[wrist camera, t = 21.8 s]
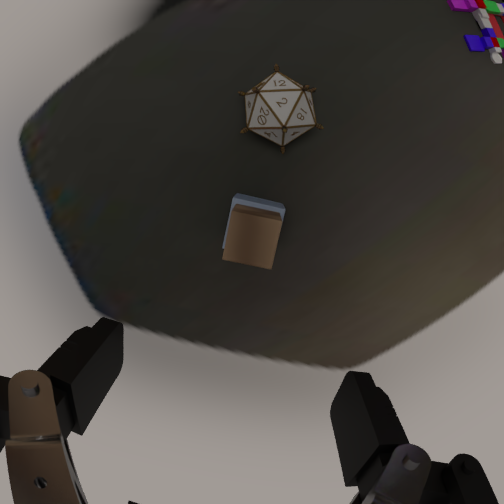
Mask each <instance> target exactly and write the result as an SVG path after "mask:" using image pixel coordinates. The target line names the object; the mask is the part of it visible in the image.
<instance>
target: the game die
mask: <svg viewBox="0 0 504 504" xmlns="http://www.w3.org/2000/svg"><path fill="white" fill-rule="evenodd" d="M274 70H275V72H274V73H273V74H271V75H270V76H269V77H267V78H266V79H264V80H263V81H262V82H260V83H259V84H258V85H256V86H255V87H253V88H252V89H251V90H249V91H248V92H247V93H244V92H243V91H240V92H238V93H239V94H240V95H241V96H245V108H246V124H247V127H246V128H243V129H242V130H241V132H240V133H245V132H247V131H248V130H250V131H252V132H254V133H256V134H258V135H260V136H262V137H264V138H266V139H268V140H270V141H272V142H274V143H276V144H278V145H280V146H281V148H280V149H281V152H282V154H284V152H285V148H284V146H285V145H286V144H288V143H289V142H291V141H293V140H294V139H296V138H297V137H299V136H300V135H302V134H303V133H305V132H307V131H308V130H310V129H311V128H313V127H315V126H316V127H317V128H319V129H324V128H323V126H322V124H321V125H320V124H317V123H316V117H315V111H314V106H313V100H312V94H311V93H312V92H315V90H316V88H314V87H313V88H311V89H310V90H309V85H304V86H302V85H300V84H299V83H297V82H296V81H294V80H292V79H290V78H289V77H287V76H285V75H284V74H282V73H280V72H279V66H278V65H277V64H276V65H275V66H274Z"/></svg>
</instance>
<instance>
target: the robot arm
mask: <svg viewBox="0 0 504 504" xmlns="http://www.w3.org/2000/svg"><path fill="white" fill-rule="evenodd" d="M122 364H123V324H122V323H120V322H117V321H114V320H111V319H107V318H104V317H102V318H100V320H99V321H98V322H97V323H96V324H95V325H94V326H93V327H92V328H91V327H88V326H86V327H83V328H81V329H79V330H77V331H75V332H74V333H73V334H72V335H71V336H70V337H69V338H68V339H67V341H65V342H64V343H63V344H62V345H61V347H60V348H58V349H57V350H56V351H55V352H54V353H53V354H52V355H51V357H49V358H48V360H47V361H46V362H45V363H44V364H43V365H42V366H41V367H40V368H39V369H38V370H37V371H36V370H24V371H21V372H18V373H16V374H15V375H14V376H13V377H12V378H8V377H4V376H0V452H1V451H2V449H3V447H4V446H5V449H6V458H7V465H8V473H9V479H10V484H11V490H12V496H13V501H14V504H88V502H87V500H86V497H85V495H84V492H83V490H82V488H81V485H80V482H79V479H78V476H77V472H76V469H75V467H74V463H73V460H72V456H71V452H70V449H69V445H68V441H67V437H68V435H69V434H70V432H71V431H73V432H75V433H77V434H79V435H83V433H84V431H85V430H86V428H87V426H88V424H89V423H90V421H91V419H92V418H93V416H94V414H95V413H96V411H97V409H98V408H99V406H100V404H101V403H102V401H103V399H104V398H105V396H106V394H107V393H108V391H109V390H110V388H111V386H112V385H113V383H114V381H115V379H116V378H117V377H118V375H119V373H120V371H121V368H122ZM396 415H397V414H396V412H395V410H394V408H393V405H392V403H391V401H390V399H389V397H388V395H386V393H385V392H384V391H383V390H382V389H381V388H379V387H376V386H375V383H374V381H373V379H372V377H371V375H370V374H369V373H365V372H356V371H349V372H348V373H347V374H346V376H345V377H344V380H343V382H342V384H341V386H340V388H339V390H338V392H337V394H336V396H335V398H334V400H333V402H332V405H331V410H330V417H331V422H332V426H333V430H334V435H335V439H336V444H337V449H338V453H339V458H340V463H341V467H342V472H343V477H344V482H345V486H346V487H348V486H358V489H359V492H358V493H357V494H356V495H355V496H354V498H353V499H352V501H351V502H350V504H499V503H498V501H497V499H496V496H495V494H494V492H493V490H492V487H491V485H490V483H489V481H488V479H487V477H486V474H485V473H484V470H483V468H482V466H481V464H480V463H479V461H478V460H477V459H475V458H474V457H473V456H471V455H468V454H458V455H456V456H455V457H454V458H453V459H452V460H451V461H450V463H449V464H448V463H441V462H435V461H431V459H430V457H429V455H428V454H427V453H426V452H425V451H424V450H423V449H422V448H420V447H418V446H416V445H413V444H410V443H409V441H408V439H407V436H406V434H405V432H404V430H403V427H402V425H401V423H400V421H399V418H398V417H397V416H396ZM128 504H138V503H135V502H131V501H129V502H128Z"/></svg>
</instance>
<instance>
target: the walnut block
mask: <svg viewBox="0 0 504 504" xmlns="http://www.w3.org/2000/svg"><path fill="white" fill-rule="evenodd" d="M281 226H282V219H281V216H280V213H279V212H275V211H270V210H265V209H260V208H256V207H251V206H246V205H241V204H236V205H235V206H234V208H233V209H232V211H231V216H230V221H229V227H228V232H227V237H226V242H225V248H224V253H223V258H222V259H223V260H228V261H232V262H237V263H242V264H247V265H252V266H257V267H262V268H267V269H271V268H272V264H273V260H274V256H275V251H276V247H277V243H278V239H279V234H280V230H281Z"/></svg>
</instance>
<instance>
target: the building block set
mask: <svg viewBox="0 0 504 504" xmlns="http://www.w3.org/2000/svg"><path fill="white" fill-rule="evenodd" d="M447 2H448V4H449V6H450V8H451V10H453V11H464V12H472V14H473V16H474V18H475V20H476V21H478V23H479V26H480V28H481V29H483V30H481V32H482V34H483V36H484V37H481V38H479V36H476V35H464V39H465V41H466V43H467V46H468V48H469V51H481V52H483V51H485V49H488V50H489V52H490V58H491V60H492V62H493V63H494V64H501V63H502V58H501V56H500V55H499V54H498V53H502V55H503V58H504V36H503V34H502V32H501V30H500V27H499V25H498V23H497V21H496V19H495V17H494V15H495V16H501V19H502V21H503V23H504V4H502V3H500V4H498V3H496V2H493V1H488V0H448V1H447Z"/></svg>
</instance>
